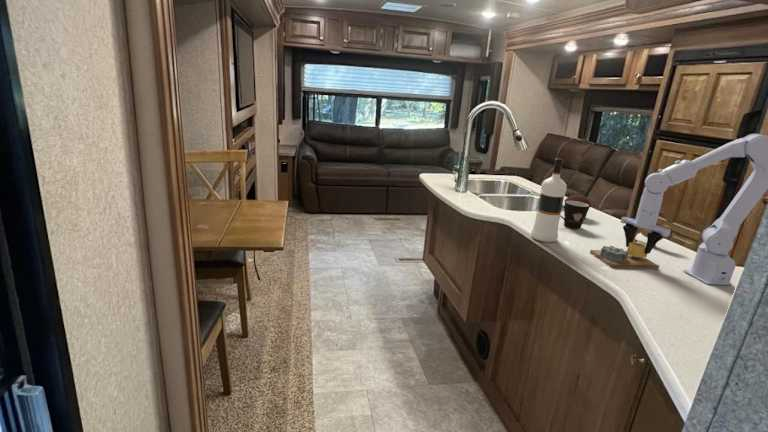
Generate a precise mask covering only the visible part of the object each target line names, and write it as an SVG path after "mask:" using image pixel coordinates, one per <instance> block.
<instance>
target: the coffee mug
mask: <svg viewBox="0 0 768 432" xmlns="http://www.w3.org/2000/svg"><path fill="white" fill-rule="evenodd" d="M588 206H589V205H588V204H586V203H582V202H578V201H566V206H565V205H562V208H563V209H565V216H564V217H563V216H562V215H561V217H560V219H562V220H563V221H564V222H563V227H565V228H566V229H567V228H568V229H571V230H581V228H582V226H583V222H584V221H585V219H584V217H585V215H586V212H587V209H588ZM587 213H588V212H587ZM586 216H587V215H586ZM585 218H586V217H585Z"/></svg>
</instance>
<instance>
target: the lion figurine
mask: <svg viewBox="0 0 768 432" xmlns="http://www.w3.org/2000/svg"><path fill="white" fill-rule="evenodd" d="M659 226H660V227H663V228H665V229H668V230H671V231H670V234H669V236H670V235H671V232H672V228H671V226H670V225H667V224H661V225H659ZM648 233H652V232H651V231H648V230H644V229H641V228H638V230H637V232H636V234H635V236H634V240H633V241H635V242H638V240H637V239H636V237H637V236H638V235H639V234H641V235H642V236H643V237H645V238H647V234H648ZM669 236H667V237H665V236H663V237H662V238H661V239H660V240H659V241H661V240H663V239H667V238H669ZM656 245H657V244H655V246H654V247H656Z"/></svg>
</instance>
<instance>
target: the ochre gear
mask: <svg viewBox="0 0 768 432" xmlns="http://www.w3.org/2000/svg"><path fill="white" fill-rule="evenodd" d="M646 245H647V243H646V244H645V243H642V242H638V241H637V242H635V241H632V242H629V246H628V247H627V249H626V251H627V252H628V254H629V255H633V256H634V257H641V258H644V257H645V258H647V256H648V254H645V248H646Z"/></svg>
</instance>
